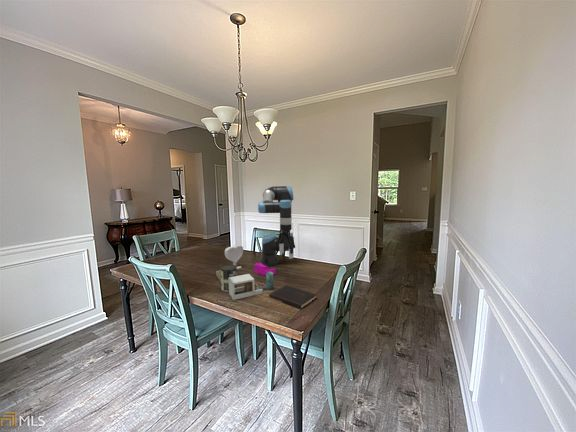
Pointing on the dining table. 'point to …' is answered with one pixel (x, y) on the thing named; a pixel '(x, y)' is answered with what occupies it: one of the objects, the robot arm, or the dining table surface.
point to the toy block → (263, 269)
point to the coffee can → (227, 276)
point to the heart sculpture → (234, 254)
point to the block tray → (219, 275)
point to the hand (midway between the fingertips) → (286, 255)
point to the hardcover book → (293, 296)
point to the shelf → (239, 280)
